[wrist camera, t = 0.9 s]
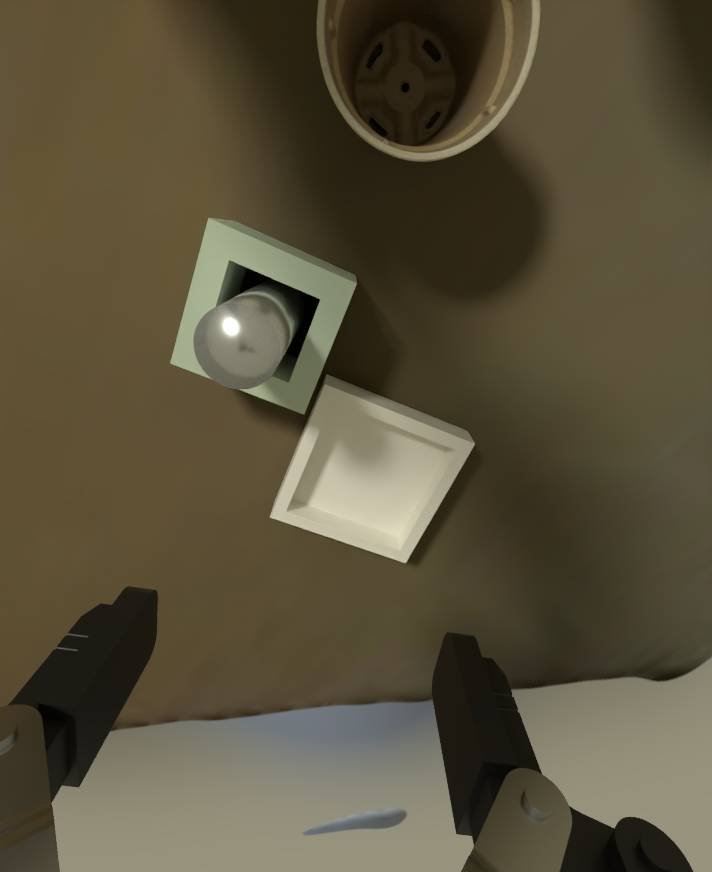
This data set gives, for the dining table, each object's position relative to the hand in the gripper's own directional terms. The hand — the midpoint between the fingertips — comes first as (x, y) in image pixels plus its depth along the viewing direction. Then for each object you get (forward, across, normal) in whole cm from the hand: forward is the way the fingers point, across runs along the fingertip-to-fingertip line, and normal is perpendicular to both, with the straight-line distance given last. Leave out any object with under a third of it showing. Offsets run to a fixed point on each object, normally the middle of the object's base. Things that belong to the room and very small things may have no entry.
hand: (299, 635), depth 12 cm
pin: (+23, +5, -6) cm, 25 cm away
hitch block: (+23, +5, -6) cm, 24 cm away
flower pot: (+22, -1, -20) cm, 30 cm away
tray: (+24, -3, +5) cm, 25 cm away
